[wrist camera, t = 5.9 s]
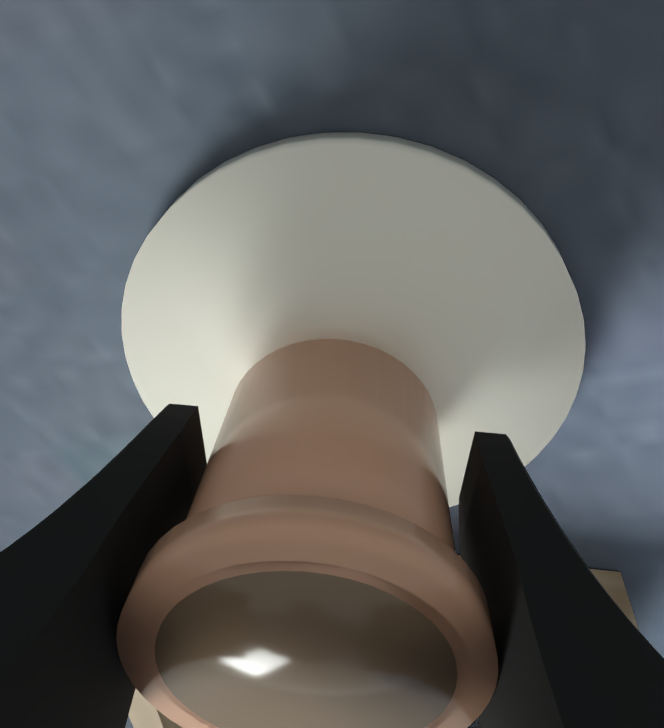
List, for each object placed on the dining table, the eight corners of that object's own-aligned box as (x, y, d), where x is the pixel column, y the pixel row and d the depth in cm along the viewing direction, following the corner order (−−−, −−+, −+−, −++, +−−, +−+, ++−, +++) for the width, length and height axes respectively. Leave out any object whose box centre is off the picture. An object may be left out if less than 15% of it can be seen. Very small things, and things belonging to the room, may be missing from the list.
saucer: (647, 148, 11) (662, 162, 11) (520, 515, 18) (524, 537, 17) (89, 116, 12) (71, 128, 11) (167, 480, 19) (159, 499, 18)
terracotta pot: (472, 330, 12) (536, 560, 7) (438, 524, 15) (467, 783, 10) (202, 314, 13) (81, 526, 8) (221, 508, 16) (143, 752, 11)
